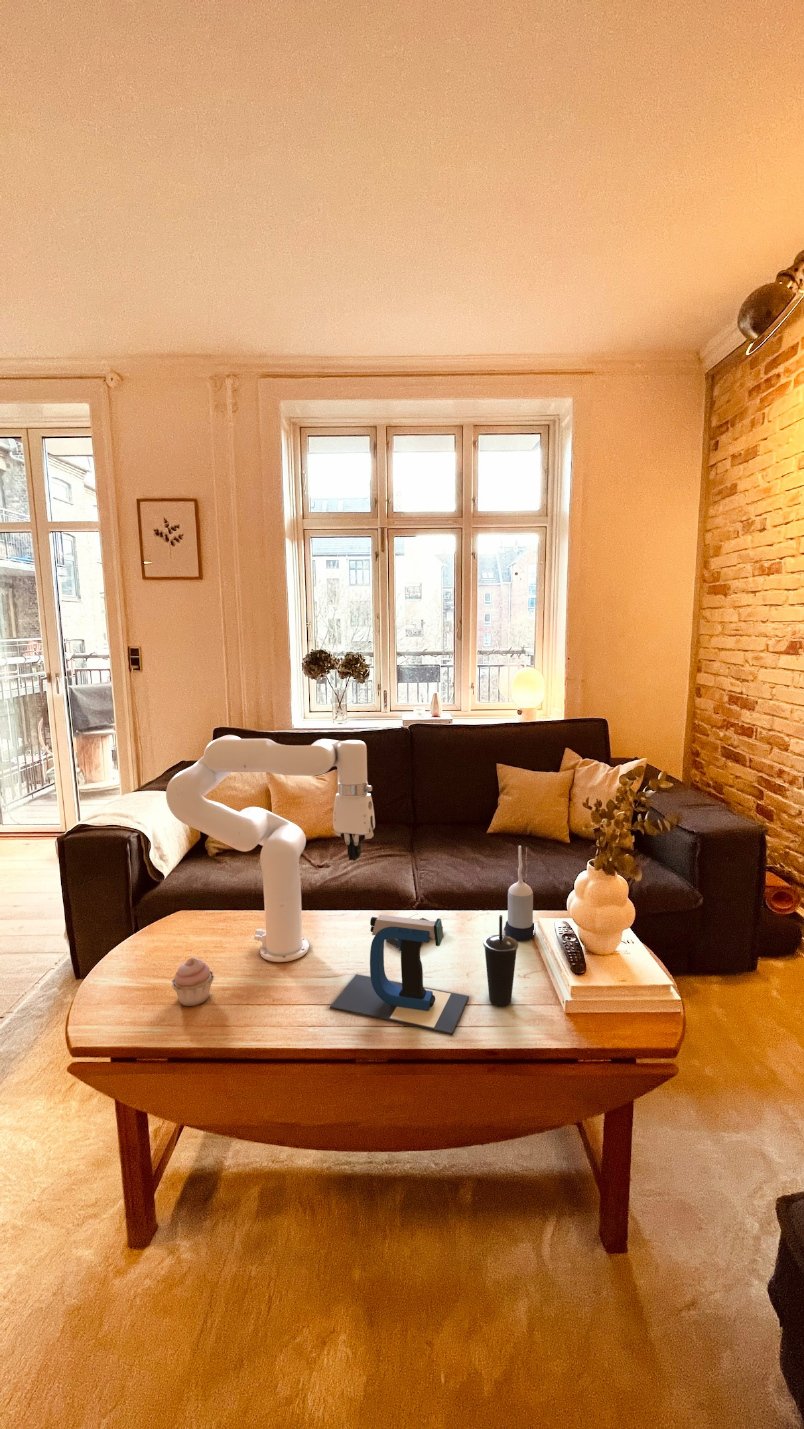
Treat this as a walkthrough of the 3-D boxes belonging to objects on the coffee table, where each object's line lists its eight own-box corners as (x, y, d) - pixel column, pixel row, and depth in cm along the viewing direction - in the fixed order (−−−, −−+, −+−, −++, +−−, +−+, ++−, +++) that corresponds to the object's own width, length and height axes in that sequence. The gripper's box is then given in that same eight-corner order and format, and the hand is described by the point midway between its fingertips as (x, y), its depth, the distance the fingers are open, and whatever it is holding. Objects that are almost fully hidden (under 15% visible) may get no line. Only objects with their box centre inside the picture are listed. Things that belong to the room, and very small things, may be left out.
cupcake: (163, 1006, 135) (160, 963, 133) (191, 984, 143) (189, 944, 142) (196, 1014, 131) (194, 971, 130) (223, 992, 140) (221, 951, 139)
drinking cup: (509, 1015, 130) (510, 926, 127) (477, 1004, 134) (477, 918, 131) (522, 997, 136) (523, 912, 134) (491, 987, 140) (491, 905, 138)
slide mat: (329, 1008, 133) (329, 1006, 133) (356, 975, 146) (356, 974, 146) (452, 1034, 123) (452, 1032, 123) (468, 997, 136) (468, 995, 136)
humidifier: (501, 928, 169) (501, 842, 167) (529, 926, 170) (530, 840, 168) (509, 942, 161) (510, 852, 159) (539, 940, 162) (540, 850, 160)
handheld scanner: (440, 1014, 129) (439, 926, 128) (369, 1003, 134) (368, 918, 132) (444, 1002, 134) (444, 917, 132) (375, 992, 138) (374, 910, 136)
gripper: (385, 787, 154) (386, 857, 156) (333, 783, 159) (334, 851, 161) (373, 794, 147) (375, 867, 149) (319, 790, 152) (321, 860, 154)
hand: (354, 858), depth 155 cm, fingers closed
